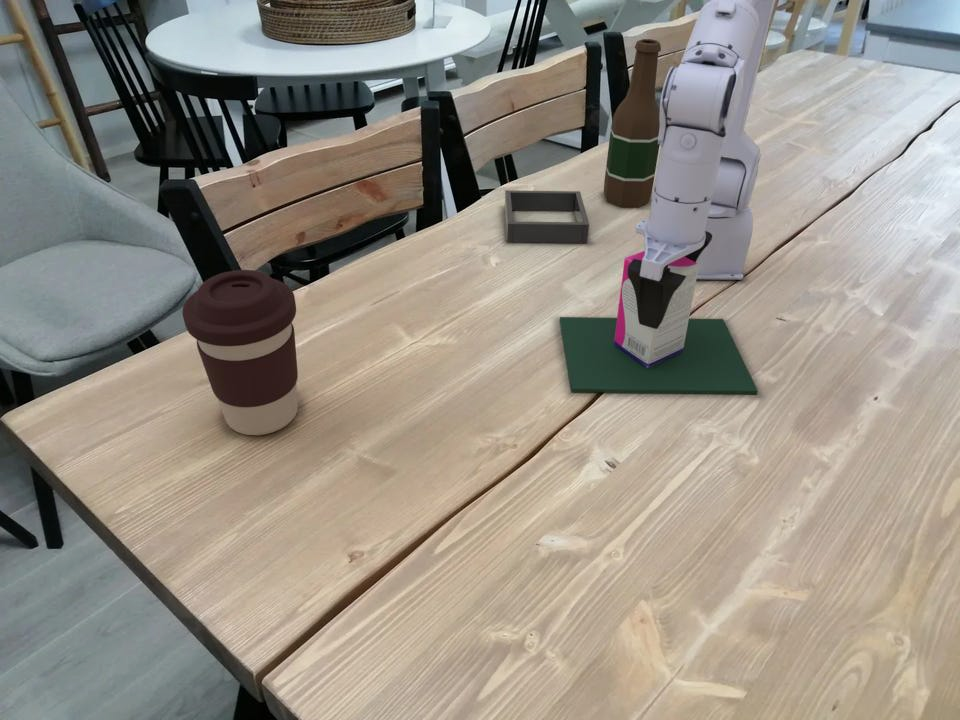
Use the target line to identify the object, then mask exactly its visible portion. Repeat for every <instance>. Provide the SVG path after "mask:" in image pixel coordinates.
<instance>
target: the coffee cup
mask: <svg viewBox="0 0 960 720" xmlns="http://www.w3.org/2000/svg"><path fill="white" fill-rule="evenodd" d="M296 304H297V303H296V298H295V294H294V291H293V290H292V288H291V287H290V286H288V284H286V283H284V282H283V281H280V280H279V279H275V278H272V277H271V276H270V275H268V274H266V273H264V272H262V271H258V270H254V269H253V270H252V269H237V270H236V269H235V270H229V271H224V272H220V273H218V274H216V275H212V276H211V277H209V278H208V279H206V280H205V281H203V282H202V283H201V285H200V286H199V287H198V288H197V290H196V291H195V292H193V293H192V294H190V296H189V297H188V298H187V299H186V300H185V302H184V304H183V307H182V310H181V311H182V318H183V322H184V326H185V329H186V331H187V332H188V334H189V335H190V336H191V337H192V338H194V339H195V340H196V347H197V351H198V354H199V357H200V359H201V362H202V365H203V367H204V370H205V373H206V376H207V379H208V382H209V385H210V388H211V390H212V392H213V394H214V396H215V398H217V400H218V403H219V406H220V408H221V411H222V414H223V417H224V421H225V422H226V424H227V425H228V426H229V428H230V429H232V431H235V432H237V433H238V434H242V435H247V436H263V435H268V434H271V433H274V432H275V433H276V432H278V431H280V430H282V429H283V428H284V427H286V426H288V425H289V424H290V423H291V422H292V421H293V420H294V418H295V417H296V415H297V413H298V410H299V398H298V387H297V386H298V385H297V382H298V377H299V376H298V375H299V372H298V360H297V349H296V348H297V347H296V333H295V327H294V324H293V323H292V322H293V321H294V319H295V317H296V314H297V305H296Z"/></svg>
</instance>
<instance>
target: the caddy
mask: <svg viewBox="0 0 960 720" xmlns="http://www.w3.org/2000/svg"><path fill="white" fill-rule="evenodd" d="M513 211H548V212H549V211H551V212H552V211H553V212H573V213H574V217H575V221H568V222H567V221H516V220H515V221H514V215H513ZM504 219H505V234H506V242H507V243H517V244H518V243H520V244H521V243H523V244H524V243H526V244H527V243H528V244H529V243H530V244H533V243H534V244H588V239H589V231H590V222H589V219H588V215H587V211H586V207H585V205H584V200H583V197H582V192H581V191H579V190H517V189H516V190H515V189H513V190H512V189H508V190H504Z"/></svg>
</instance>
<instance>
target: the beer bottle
mask: <svg viewBox="0 0 960 720" xmlns="http://www.w3.org/2000/svg"><path fill="white" fill-rule="evenodd" d="M634 49H635V56H634V61H633V66H632V70H631V76H630V81H629V87H628V89H627V93H626V96H625V98H624V99H623V100H622V101H621V102H620V104H619V105H618V106H617V108H616V110H615V112H614V113H613V116H612V120H611V126H610V133H609V140H608V149H607V157H606V163H605V164H606V166H605V174H604V175H605V176H604V180H603V181H604V182H603V195H604V198H605V200H606V202H607V203H609V204H612V205H614V206H617V207H619V208H640V207H643V206H644V205H646V204H648V203H649V202H650V201H651V199H652V194H653V189H654V183H655V177H656V171H657V165H658V159H659V153H660V147H661V146H660V144H658V135H659V128H660V121H659V115H660V107H659V106H658V104H657V101H656V83H657V82H656V81H657V74H658V73H657V71H658V61H659V52H662V46H661V42H659V41H658V40H656V39H652V38H643V39H640V40H636V42H635V45H634Z"/></svg>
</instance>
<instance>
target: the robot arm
mask: <svg viewBox="0 0 960 720" xmlns="http://www.w3.org/2000/svg"><path fill="white" fill-rule="evenodd" d="M776 1H777V0H709V1H708V2H707V3H704V5H703V6H702V7H701V9H700V10H699V13H698V15H697V18H696V20H695V23H694V25H693V28H692V32H691V34H690V37H689V38H688V42H687V44H686V48H685V49H684V52H683V55H682V57H681V61H680V64H679V65H678V67H677V66H676V67H675V66H674V65H672V66H671V67H669V70H668V72H667V75H666V77H665V80H664V82H663V86H662V90H661V96H660V102H659V110H660V115H659V121H660V128H659V135H658V144H660V146H659V152H658V159H657V165H656V171H655V177H654V183H653V189H652V195H651V203H650V209H649V214H648V220H646V219H641V220H640V221H639V222H638V223H637V224H636V225H635V230H634V232H635V233H636V234H639V235H642V236H643V239H644V241H643V243H644V251H645V256H644V257H643V259H642V261H641V260H637V259H633V260H632V261H631V263H630V264H629V265H628V270H627V275H628V277H629V279H630V281H631V283H632V285H633V288H634V291H635V295H636V302H637V311H638V320H639V324H641V325H644V326H647V327H651V328H654V329H658V327H659V326H660V324H661V322H662V320H663V318H664V316H665V313H666V310H667V308H668V305H669V302H670V300H671V298H672V296H673V294H674V292H675V291H676V290H677V288H678V287H679V286H680V285H681V284H682V282H683V281H684V280H685V278H686V276H685V275H681V274H677V273H673V272H670V268H668V265H669V264H670V263H672V262H674V261H676V260H678V259H680V258H682V257H686V258H688V259H690V260H692V261H694V262H696V263H698V264H699V269H698V274H697V279H696V280H719V281H720V280H721V281H723V280H725V281H726V280H727V281H728V280H729V281H733V280H734V281H741V280H743V279H744V274H743V271H744V267H745V263H746V260H747V255H748V251H749V248H750V245H751V242H752V241H751V240H752V237H753V229H754V217H753V212H752V209H751V208H750V207H749V205H750V202H751V199H752V196H753V192H754V189H755V185H756V182H757V177H758V173H759V167H760V166H759V164H760V160H761V156H762V153H761V149H760V147H759V146H758V144H757V143H756V142H755V141H754V139H752V138H751V136H749V135H748V134H747V132H746V130H745V126H746V122H747V119H748V115H749V114H748V113H749V110H750V106H751V102H752V98H753V93H754V90H755V85H756V81H757V77H758V74H759V68H760V64H761V62H762V61H761V60H762V56H763V52H764V49H765V45H766V40H767V35H768V32H769V27H770V25H771V20H772V16H773V12H774V8H775V3H776Z"/></svg>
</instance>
